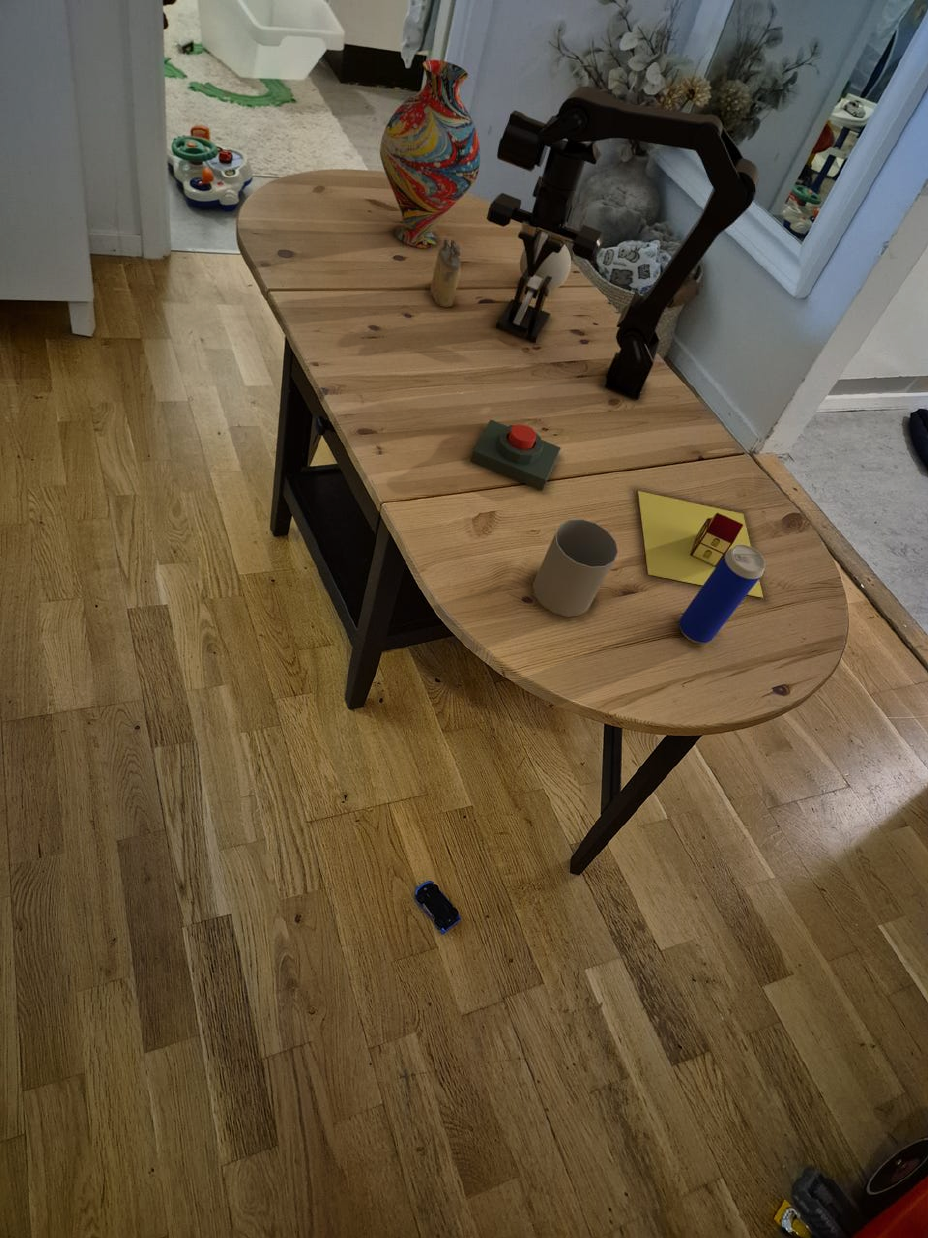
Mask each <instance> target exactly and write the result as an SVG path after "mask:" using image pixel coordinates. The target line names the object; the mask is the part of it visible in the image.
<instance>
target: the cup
mask: <svg viewBox="0 0 928 1238" xmlns="http://www.w3.org/2000/svg"><path fill="white" fill-rule="evenodd" d="M618 553H619V548H618V544H617V541H616V539H615V538H614V536H612V535H611V533H610V532H609V530H607V529H605V528H604V527H602V526H601V525H599V524H598V523H596V522H593V521H590V520H587V519H583V518H580V519H579V518H578V519H568V520H566V521H564V522H562V523H560V524H559V525H558V527H557V529H556V531H555V533H554V535H553V537H552V540H551V542H550V544H549V547H548V549H547V551H546V553H545V555H544V558H543V559H542V562H541V564H540V566H539V569H538V571H537V574H536V576H535V578H534V580H533V583H532V590H533V594H534V597H535V598H536V600H537V601H538V602H539V604H540V605H541V606H542V607H543V608H545V609H546V610H547V611H549V612H551V614H555V615H558V616H562V617H565V618H568V617H569V618H570V617H580V616H581V615H582V614H584V613H585V612H588V611H589V609H590V607H591V605H592V603H593V601H594V600H595V598H596V596H597V594H598V592H599V591H600V588H601V586H602V585H603V583H604V581H605V579H606V577H607V576H608V574H609V572H610V570H611V568H612V566H613V565H614V563H615V560H616V559H617V557H618Z"/></svg>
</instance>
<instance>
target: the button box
mask: <svg viewBox="0 0 928 1238" xmlns="http://www.w3.org/2000/svg"><path fill="white" fill-rule="evenodd" d="M514 425H515V424H509V425H506V424H503V423H501V422H499V421H496V420H494V419H490V420H489V422H488V423H487V425H486V427H485V429H484V430H483V432H482V433H481V435H480V437H479V439H478V441H477V443H476V445H475V447H474V448H473V450H472V453H471V457H470V460H469V462H470V463H473V464H475V465H478V466H479V467H483V468H485V469H487V470H490V471H492V472H495V473H498V474H500V475H502V476H504V477H507V478H509V479H513V480H514V481H517V482H519V483H522V484H524V485H527V486H530V487H531V488H534V489H537V490H539V491H541V492H543V491H544V489H545V486H546V484H547V482H548V479H549V477H550V475H551V472H552V470H553V468H554V465H555V463H556V461H557V459H558V456H559V453H560V451H561V449H562V448H561V447H560V446H558V445H555V444H553V443H550V442H548V441H546V440H543V439H542V437H541V436H540V435H539V434H538V433H537V432H535V433H536V439H535V442H534V444H533V447H532V448H531V449H529V450H520V449H518V448H515V447H513V446H512V445H511V444H510V443H509V441H508V436H509V433H510V430H511V428H512V427H513V426H514Z"/></svg>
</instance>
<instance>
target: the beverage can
mask: <svg viewBox="0 0 928 1238" xmlns="http://www.w3.org/2000/svg"><path fill="white" fill-rule="evenodd" d="M765 568H766V560H765V558H764V557H763V555H762V554H761V552H759V551H758V550H757V549H755V548H754V547H752V546H751V547H750V546H747V545H736V546H734V547H732V548H731V549H730V550H728V551H727V552H726V553H725V555H724V556H723V558H722V559H721V561H720V562H719V563H718V565H717V566H716V568H715V569H714V571H713V572H712V573H711V575H710V576H709V578H708V579H707V581H706V582H705V583H704V585H701V588H700V589H699V590H698V592H697V593H696V595H695V596H694V598H693V599H692V601H691V602H690V603H689V605H688V607H687V608H686V609H685V611H684V612H683V613H682V615H681V616H680V618H679V622H678V625H679V629H680V631H681V633H682V635H683V636H684V637H685V638H686V639H687V640H689V641H690V642H692V643H696V644H707V643H710V642H711V641H712V640H714V638H715V637H716V636H717V634H718V633H719V632H720V630H721V629H722V628H723V627H724V626H725V624H726V623H727V622H728V621H729V619H730V618H731V616H732V615H733V613H734V612H735V611H736V610H737V609H738V607H739V606H740V604H741V603H742V602H743V601H744V600H745V598H746V597H747V594H748V593H749V591H750V590H751V589H752V588H753V586H754V585H755V584H756V582H757V581H758V580H759V581H760V579H761V578H762V576H763V575H764V572H765Z"/></svg>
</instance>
